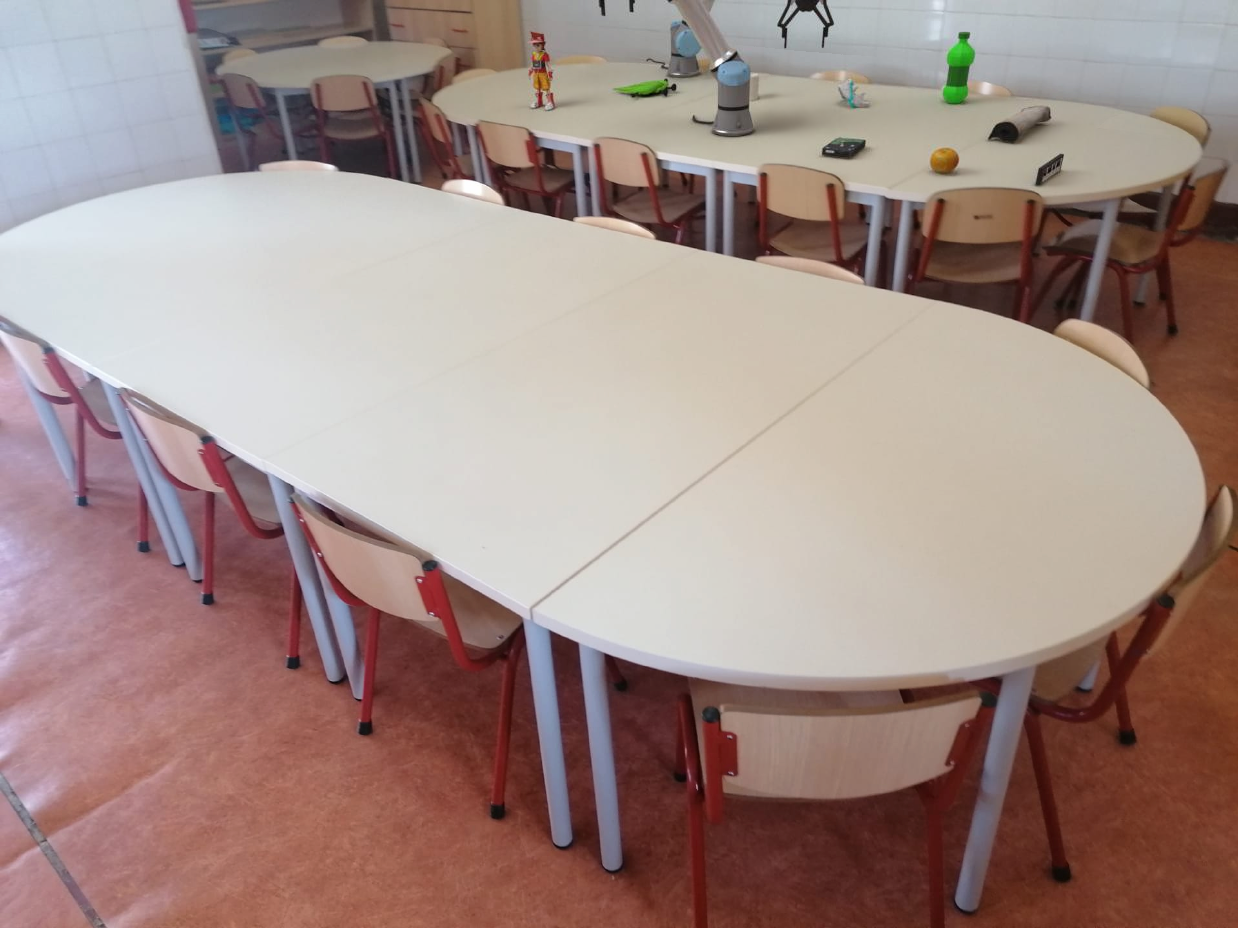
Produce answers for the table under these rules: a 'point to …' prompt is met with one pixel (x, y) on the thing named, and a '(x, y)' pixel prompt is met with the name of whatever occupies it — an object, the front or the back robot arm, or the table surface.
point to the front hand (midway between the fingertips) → (803, 47)
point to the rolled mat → (1020, 123)
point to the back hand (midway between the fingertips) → (617, 14)
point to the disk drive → (843, 147)
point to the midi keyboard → (1049, 169)
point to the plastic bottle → (958, 69)
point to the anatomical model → (851, 94)
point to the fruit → (944, 160)
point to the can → (754, 86)
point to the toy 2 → (648, 88)
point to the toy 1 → (541, 71)
